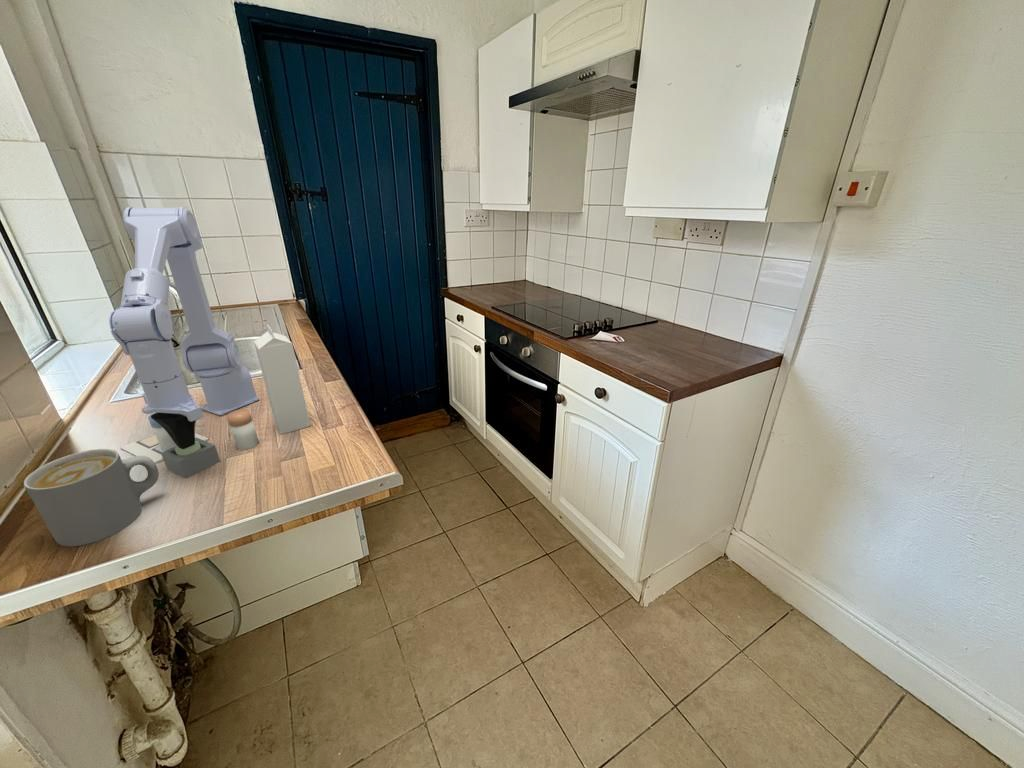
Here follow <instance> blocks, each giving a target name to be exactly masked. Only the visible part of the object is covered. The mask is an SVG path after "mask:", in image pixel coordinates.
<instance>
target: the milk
mask: <svg viewBox="0 0 1024 768" xmlns="http://www.w3.org/2000/svg"><path fill="white" fill-rule="evenodd" d="M266 328H267V331H266V332H265V333H263V334H262V335H261V336H259V337H258V338H257V339H256V340H254V341H253V343H254V346H255V352H256V355H257V359H258V362H259V366H260V370H261V374H262V378H263V382H264V386H265V390H266V393H267V397H268V401H269V404H270V409H271V412H272V415H273V420H274V423H275V425H276V428H277V430H278V431H279V434H280V435H284V434H288V433H291V432H294V431H295V432H296V431H299V430H302V429H305V428H309V427H311V421H310V417H309V412H308V407H307V403H306V399H305V394H304V391H303V390H304V389H303V386H302V381H301V375H300V373H299V368H298V364H297V357H296V354H295V350H294V345H293V342H292V341H290V339H289V338H288V337H287V335H283V334H280V333H276V332H274V331H273V330H272V328H271V326H270V325H269V324H266Z"/></svg>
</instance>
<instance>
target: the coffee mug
mask: <svg viewBox="0 0 1024 768" xmlns="http://www.w3.org/2000/svg"><path fill="white" fill-rule="evenodd" d="M135 466H142V467H144V468H145V469H146V471H147V476H146V477H145V479H143V480H141V481H136V480H134V479H133V478H132V477H131V474H130V473H131V470H132V469H133V468H134V467H135ZM159 475H160V474H159V469H158V466H157V463H156V464H155V463H154V461H153V460H152V459H150V458H149V457H146V456H132V457H127V458H124V459H122V458H121V456H120V454H119V453H118V452H117V451H116V450H115V449H111V448H96V449H90V450H83V451H80V452H75V453H72V454H68V455H66V456H63V457H60V458H56V459H54V460H52V461H50V462H47V463H46V464H43V465H41V466H39V467H38V468H36V469H35V470H33V471H32V472H31V473H29V474H28V475H27V476H26V478H25V479H24V480H23V487H24V488H25V490H26V492H27V494H28V495H29V497H30V499H31V500H32V502H33V504H34V506H35V507H36V510H37V511H38V512H39V516H41V518H42V519H43V521H44V523H45V525H46V526H47V528H48V530H49V532H50V534H51V535H52V537H53V539H54V541H55V542H56V543H57V544H58V545H59V546H63V547H78V546H84V545H89V544H94V543H96V542H99V541H101V540H105V539H106V538H109V537H111V536H113V535H116V534H117V533H119V532H121V531H122V530H125V529H126V528H127V527H129V526H130V525H132V523H134V522H135V521H136V520H137V519H138V518H139V517H140V515H142V512H143V506H142V503H141V501H140V500H141V499H140V498H141V497H142V495H143V494H144V493H145V492H147V491H148V490H149V489H151V488H152V487H153V486H154V485H155V484H156V483H157V482H158V479H159Z"/></svg>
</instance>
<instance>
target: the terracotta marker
mask: <svg viewBox="0 0 1024 768" xmlns="http://www.w3.org/2000/svg"><path fill="white" fill-rule="evenodd" d="M226 420H227V423H228V426H229V428H230V430H231V433H232V434H231V435H232V437H233V440H234V443H235V445H236V448H237V450H240V451H244V450H249V449H252V448H254V447H256V446H258V444H259V438H258V435H257V431H256V428H255V425H254V421H253V418H252V414H251V411H250V409H248V408H241V409H240V408H238V409H236V410H233V411H231V412H228V413H226Z"/></svg>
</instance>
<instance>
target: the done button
mask: <svg viewBox="0 0 1024 768" xmlns="http://www.w3.org/2000/svg"><path fill="white" fill-rule="evenodd" d="M200 449H201V447H200V444H199V442H198V441H195V444H194V445H192V446H190V447H188V448H186V449H181V448H179V447H178V446H176V447H175V451H176V454H177V456H179V457H181V458H183V457H185V456H187V455H189V454H191V453H194V452H196V451H198V450H200Z"/></svg>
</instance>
